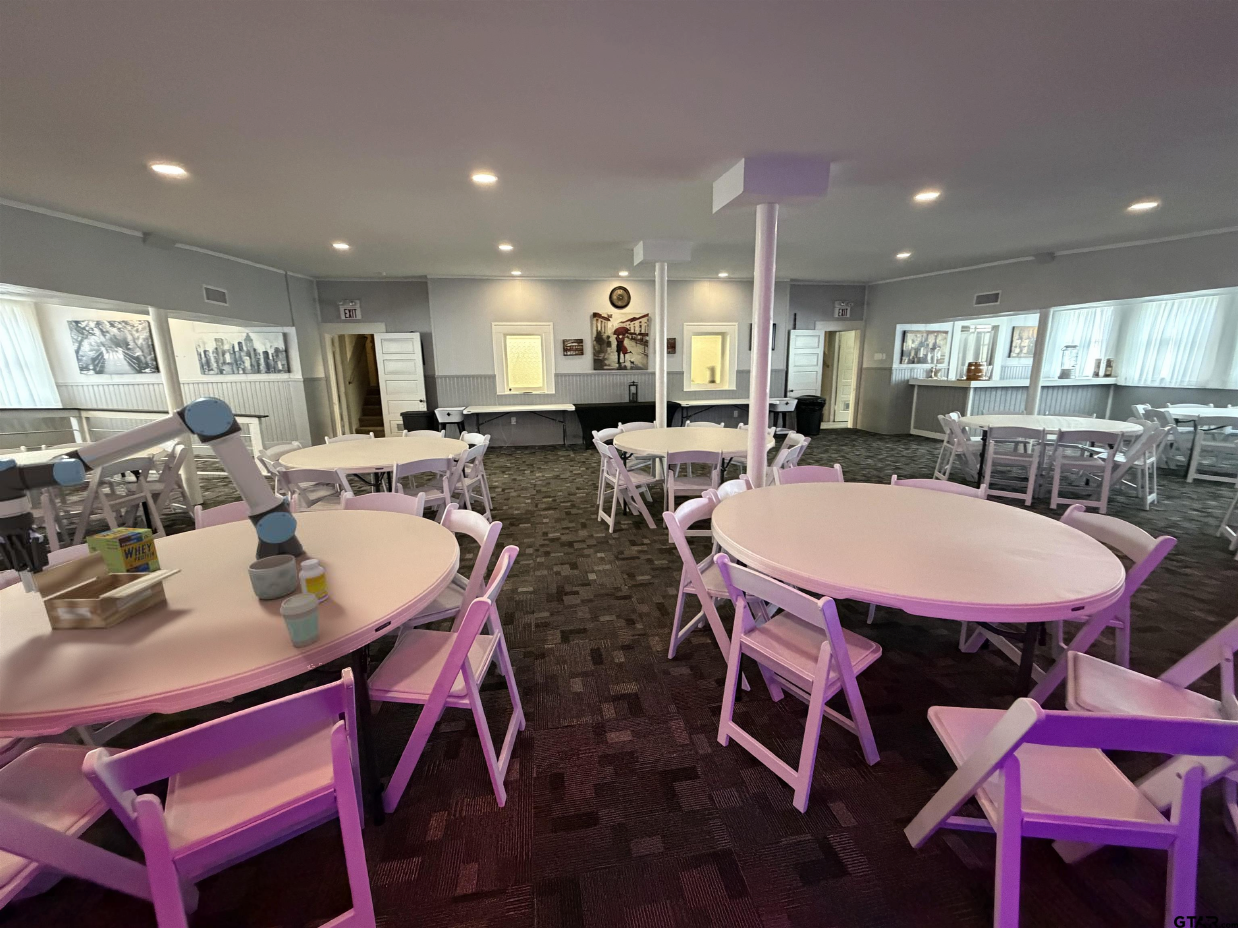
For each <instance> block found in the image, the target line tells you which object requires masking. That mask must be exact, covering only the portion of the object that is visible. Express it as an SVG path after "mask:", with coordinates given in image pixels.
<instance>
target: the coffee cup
mask: <svg viewBox="0 0 1238 928" xmlns="http://www.w3.org/2000/svg"><path fill="white" fill-rule="evenodd" d="M279 613H280V614H281V615H282V617H283V620H284V624H285V626H286V628H287V631H288V635H289V637H290V639H291V643H292V646H293V647H295V648H303V647H307V646H310V645H312V644H314V643H316V642H317V641H318V640H319V639H320V638H319V637H320V634H319V601H318V598H316V596H315V595H314V594H312V593H304V594H302V593H299V594H295V595H293V596H290V597H288V598H286V599H284V600H283V601H282V602H281V605H280V608H279Z"/></svg>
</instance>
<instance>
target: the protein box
mask: <svg viewBox="0 0 1238 928" xmlns="http://www.w3.org/2000/svg"><path fill="white" fill-rule="evenodd" d="M85 539H86V543H87V548H88V550H89V555H90V554H93V553H96V552H98V551H101V553H102V556H103V558H104V561H105V563H106V566H107V568H108V571H109V572H108V573H105V574H103V575H100V576H98V577H97V578H101V577H103V576H105V575H108V574H110V573H152V572H153V571H154V572H155V571H157V570H160V569H161V564H160V561H159V557H158V551H157V548H156V544H155V540H154V535H153V531H152V528H151V529H150V528H136V527H135V528H134V527H118V528H113V529H111V530H107V531H103V532H99V533H94V534H92V535H87V536H85Z"/></svg>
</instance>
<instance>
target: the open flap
mask: <svg viewBox="0 0 1238 928" xmlns="http://www.w3.org/2000/svg"><path fill="white" fill-rule="evenodd" d="M108 572H109V571H108V568H107V566H106V563H105V561H104V558H103V556H102V553H101V551H98V552H96V553H93V554H90V553H89V554H88V555H87V554H86V555H85V556H82V557H80V558H77V559H73V560H71V561H68V562H65V563H61V564H59V565H56V566H54V567H50V568H48V569H45V570H43V571H42V572H40V573H37V574H34V575H32V577H33V579H34V581H35V584H36V586H37V588H38V591H39V592H38V593H39V595H40V598H41V599H47V598H48V597H50V596H54V595H56V594H58V593H60V592H63V591H66V590H69V589H70V588H71V589H72V588H74V587H77V586H78V585H80V584H83V583H87V582H89V581H92V580H94V579H95V578H96V579H97V578H99V577H98V576H100V575H103V574H105V573H108Z"/></svg>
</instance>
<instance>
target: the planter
mask: <svg viewBox="0 0 1238 928" xmlns="http://www.w3.org/2000/svg"><path fill="white" fill-rule="evenodd" d="M297 570H298V569H297V564H296V557H294V556H292V555H277V556H272V557H267V558H264V559H261V560H258V561H256V560H255V561H254V562H252V563H250V564H249V565H248V566H247V571H248V575H249V580H250V583H251V586H252V587H251V588H252V590H253V592H254V595H255V596H256V597H257V598H259V599H261V600H274V599H279V598H282V597H285V596H287V595H289V594H291V593H292V592H293V591H295V589H297V586H298V572H297Z"/></svg>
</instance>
